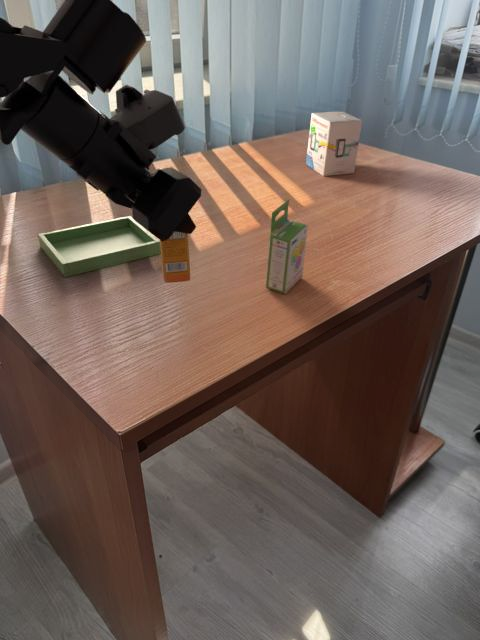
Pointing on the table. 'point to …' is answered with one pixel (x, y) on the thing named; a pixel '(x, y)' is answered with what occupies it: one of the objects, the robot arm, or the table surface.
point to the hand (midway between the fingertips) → (183, 223)
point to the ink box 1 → (285, 251)
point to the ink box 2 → (333, 143)
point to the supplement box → (175, 258)
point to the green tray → (98, 245)
